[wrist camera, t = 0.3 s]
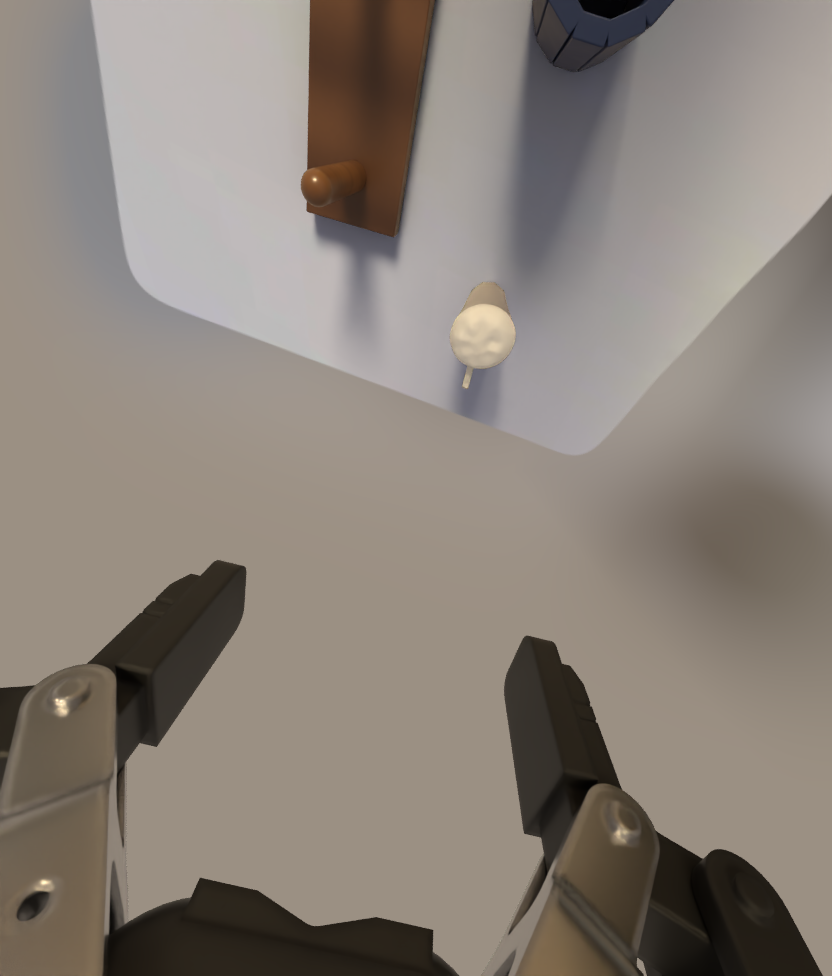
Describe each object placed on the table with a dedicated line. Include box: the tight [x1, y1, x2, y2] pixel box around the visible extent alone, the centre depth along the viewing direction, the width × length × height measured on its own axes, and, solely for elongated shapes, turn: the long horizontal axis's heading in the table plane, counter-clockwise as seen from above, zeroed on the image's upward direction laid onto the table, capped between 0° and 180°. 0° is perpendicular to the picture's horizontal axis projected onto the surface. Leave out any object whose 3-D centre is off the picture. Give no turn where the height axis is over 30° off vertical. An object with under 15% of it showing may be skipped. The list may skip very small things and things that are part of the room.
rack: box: [301, 0, 435, 237], centre depth 22 cm, size 17×7×10 cm, turn 167°
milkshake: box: [450, 282, 516, 389], centre depth 30 cm, size 5×5×10 cm
